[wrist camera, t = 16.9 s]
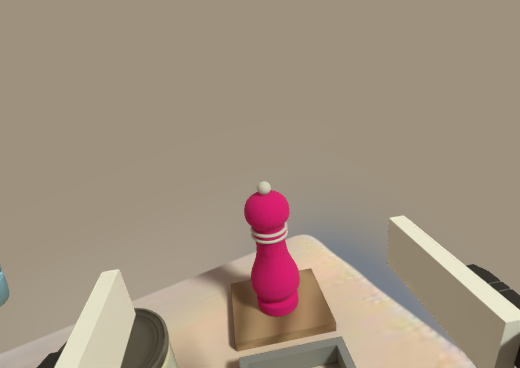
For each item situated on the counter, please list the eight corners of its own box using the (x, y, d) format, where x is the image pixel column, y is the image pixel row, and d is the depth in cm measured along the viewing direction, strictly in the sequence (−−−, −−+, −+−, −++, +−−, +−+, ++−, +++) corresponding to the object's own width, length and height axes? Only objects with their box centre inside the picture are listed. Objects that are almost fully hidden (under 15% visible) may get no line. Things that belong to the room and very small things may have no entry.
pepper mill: (245, 304, 48) (223, 186, 40) (276, 278, 52) (262, 168, 44) (280, 328, 43) (263, 199, 35) (311, 298, 47) (303, 177, 39)
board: (236, 351, 42) (235, 343, 42) (232, 290, 53) (231, 283, 53) (336, 330, 43) (335, 322, 43) (311, 275, 54) (311, 268, 54)
